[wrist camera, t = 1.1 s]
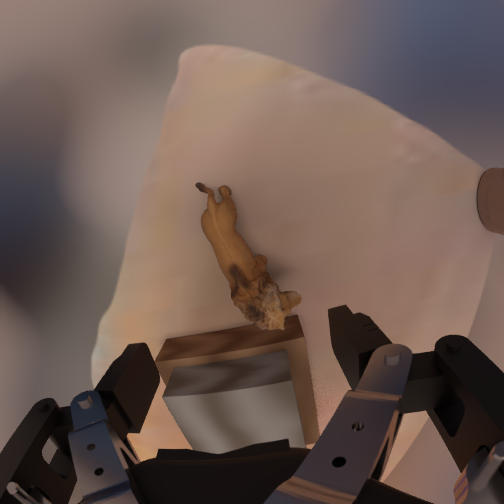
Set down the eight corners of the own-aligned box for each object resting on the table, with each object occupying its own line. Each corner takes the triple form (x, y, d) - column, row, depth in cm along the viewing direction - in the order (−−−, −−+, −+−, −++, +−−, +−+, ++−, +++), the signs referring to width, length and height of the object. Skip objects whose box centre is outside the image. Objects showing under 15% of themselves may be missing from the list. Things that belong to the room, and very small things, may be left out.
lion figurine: (297, 281, 31) (313, 318, 22) (257, 308, 31) (258, 352, 23) (217, 168, 28) (201, 161, 19) (176, 199, 29) (145, 206, 20)
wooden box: (297, 315, 31) (313, 366, 22) (314, 417, 35) (326, 469, 26) (166, 339, 32) (139, 390, 23) (210, 433, 36) (202, 483, 27)
